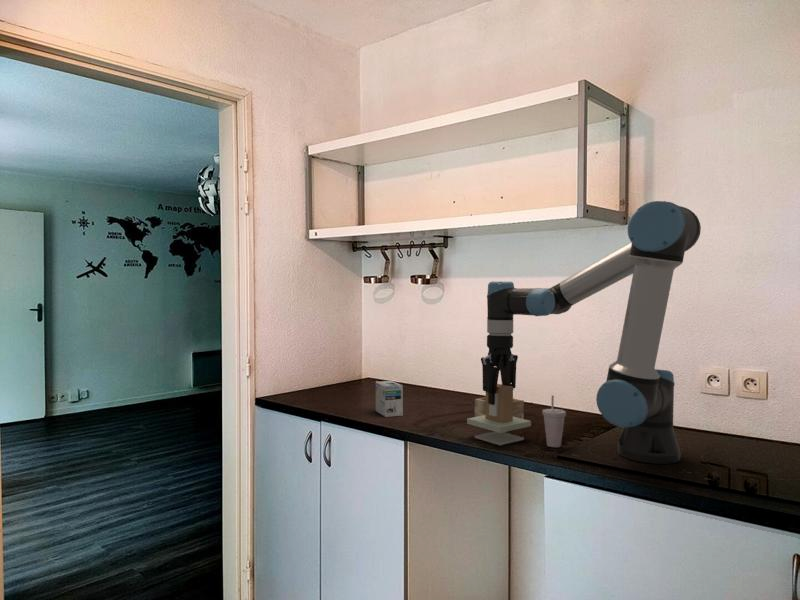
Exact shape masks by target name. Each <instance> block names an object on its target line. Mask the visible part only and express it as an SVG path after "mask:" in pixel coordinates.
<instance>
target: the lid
mask: <svg viewBox="0 0 800 600" xmlns="http://www.w3.org/2000/svg"><path fill="white" fill-rule="evenodd" d="M496 393H497V394H498V416H492V415H489V403H488V392H485V397H486V401H485V415H483V416H478V417H475V416H473V417H469V418H468V417H467V419H466V423H467V425H470V426H474V427H478V428H482V429H485V430H488V431H491V432H494V431H495V432H499V433H502V432H505V433H508V432H510V431H514V430H520V429H525V428H530V427H531V426H532V421H531V420H529V419H525V418H523V419H521V418H517V417H513V398H514V388H513V387H512V386H507V385H502V383H497V389H496Z"/></svg>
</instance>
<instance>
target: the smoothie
mask: <svg viewBox="0 0 800 600" xmlns="http://www.w3.org/2000/svg"><path fill="white" fill-rule="evenodd" d="M554 398H555V397H554V395H551V408H545V409H542V413H541V414H542V415H543V422H544V430H545V431H544V433H545V438H546V439H545V440H546V446H547V447H551V448H560V447H561V446H562V441H563V440H562V438H563V432H564V424H565V417H566V416H567V412H566V411H565V410H564V409H558V408H554V405H555V403H554V402H555V401H554Z"/></svg>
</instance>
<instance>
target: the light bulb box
mask: <svg viewBox="0 0 800 600" xmlns="http://www.w3.org/2000/svg"><path fill="white" fill-rule="evenodd" d="M403 387H404V386H403V384H400V383H397V382H395V381H393V380H382V381H378V380H376V381H375V412H376V413H378V414H379V415H382V416H383V417H384V418H391V417H402V416H404V406H403V405H404V401H403V400H404V398H403V397H404V396H403V395H404V394H403V393H404V390H403V389H404V388H403Z"/></svg>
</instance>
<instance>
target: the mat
mask: <svg viewBox="0 0 800 600" xmlns="http://www.w3.org/2000/svg"><path fill="white" fill-rule="evenodd" d="M474 438H475V439H477V440H481V441H483V442H488V443H491V444H495V445H498V446H503V445H508V444H511V443H516V442H520V441H524V440H525V437H523V436H520V435H516V434H512V433H509V432H502V433H499V432H495V431H490V432H485V433H482V434H477V435H474Z"/></svg>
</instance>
